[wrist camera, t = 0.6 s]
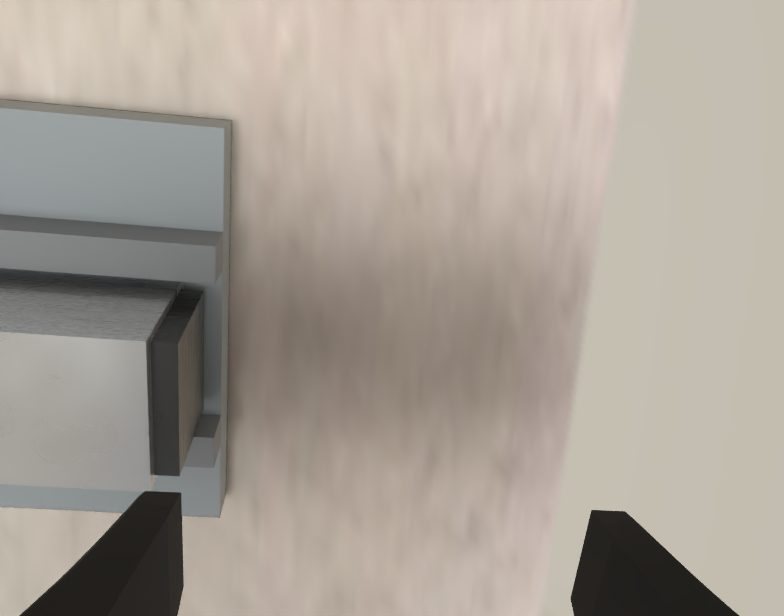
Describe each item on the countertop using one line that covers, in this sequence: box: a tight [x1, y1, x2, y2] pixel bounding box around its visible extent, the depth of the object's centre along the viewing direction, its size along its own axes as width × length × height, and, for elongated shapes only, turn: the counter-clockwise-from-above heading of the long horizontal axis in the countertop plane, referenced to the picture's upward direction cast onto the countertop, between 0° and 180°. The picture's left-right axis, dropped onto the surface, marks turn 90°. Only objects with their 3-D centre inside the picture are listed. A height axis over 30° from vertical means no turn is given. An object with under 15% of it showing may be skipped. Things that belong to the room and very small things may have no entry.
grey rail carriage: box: [0, 268, 204, 492], centre depth 19 cm, size 4×6×4 cm
